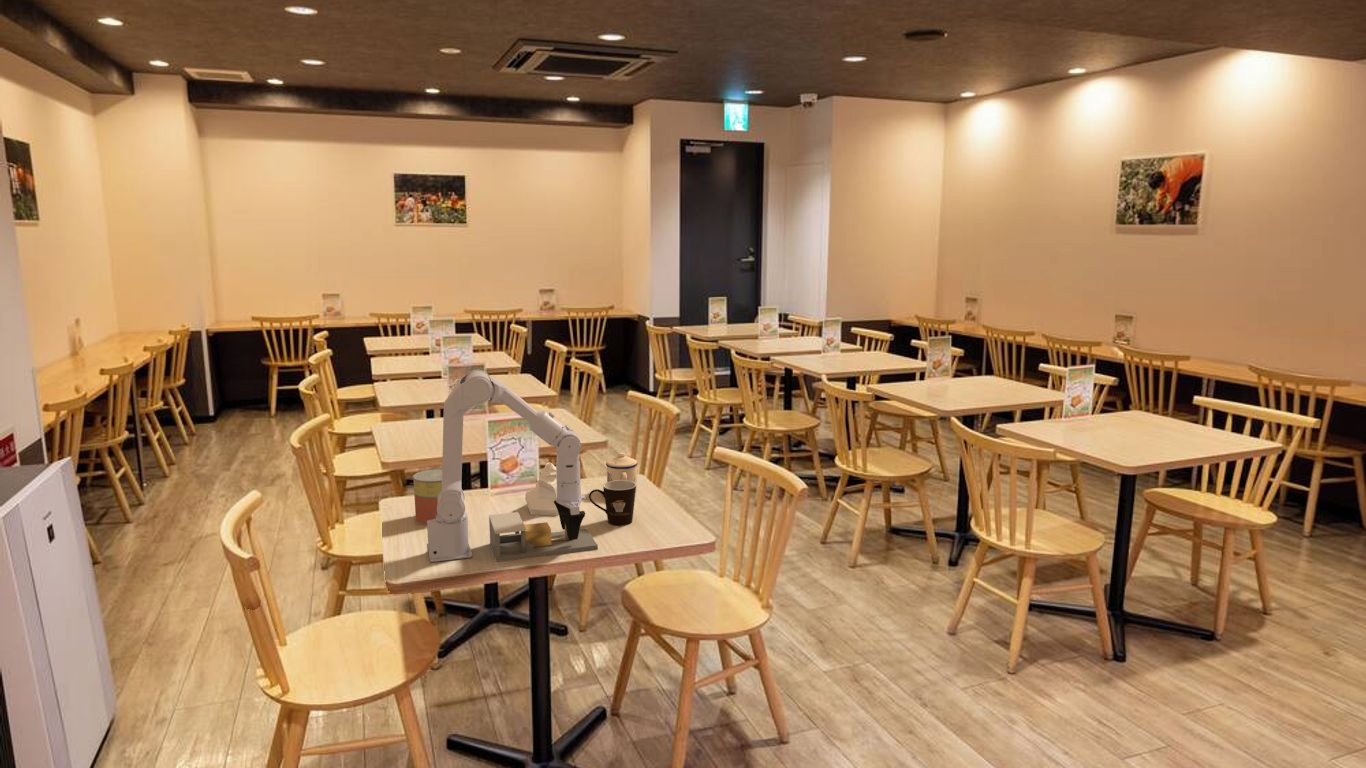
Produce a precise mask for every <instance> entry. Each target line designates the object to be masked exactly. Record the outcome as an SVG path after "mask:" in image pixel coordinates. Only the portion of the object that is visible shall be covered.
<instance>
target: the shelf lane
mask: <svg viewBox="0 0 1366 768" xmlns="http://www.w3.org/2000/svg"><path fill="white" fill-rule="evenodd" d="M488 521H489V522H488V523H489V526H488V528H489V544H490V546H491V550H492V553H493V556H494V558H495V561H496V562H505V561H513V560H521V559H528V558H537V557H544V556H553V555H561V554H568V553H577V552H579V553H580V552H584V551H585V552H587V551H594V550H598V547H599V546H598V545H599V544H597V542H596V540H595V539H594V537H593V535H592V534H591V532H589V530H588V528H580V530H579V535H578V539H575V540H558V541H551V545H546V546H538V547H534V544H533V542H531V543H526V540H525V531H526V528H525V526H524V525H525V523H524V521H523V520H522V517H521V516H520V513H519V511H516V512H514V511H513V512H506V513H505V512H504V513H495V514H488ZM508 533H511V534H508ZM501 534H502V535H501ZM564 537H565V530H562V531H554V532H551V539H556V538H564Z"/></svg>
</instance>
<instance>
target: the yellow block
mask: <svg viewBox="0 0 1366 768" xmlns="http://www.w3.org/2000/svg"><path fill="white" fill-rule="evenodd" d="M524 526H525V528H526V531H525V540H526V543H531V542H533V544H534V547H538V546H546V545H551V541H558V540H569V539H568V536H567V530H566V525H565V529H564V531H565V537H564V538H556V539H551V533H552V528H551V527H550V525H549V523H548V522H538V523H530V524H524Z"/></svg>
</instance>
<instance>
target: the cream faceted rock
mask: <svg viewBox="0 0 1366 768" xmlns="http://www.w3.org/2000/svg"><path fill="white" fill-rule="evenodd" d="M524 496H525V497H524V498H525V502H526V506H527V508H528V512H529V515H531V516H534V515H535V516H559V513H558V510H557V508H556V505H555V504H554V501H555V500H556V498H557V477H556V465H554V464H553V463H552V462H547V463H546V464H545V466H544V468H542V469H541V471H540V475H539V479H538V480H537V481H536V483H535V487H534V488H532V489H530V490H528V491H526V492H525V495H524Z"/></svg>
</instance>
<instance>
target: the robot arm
mask: <svg viewBox="0 0 1366 768" xmlns="http://www.w3.org/2000/svg"><path fill="white" fill-rule="evenodd" d="M487 401H490V403H491V404H503V405H505V406H506V407H508V408H509V409H510V410H511V411H513V412H514V413H515V414H517V415H518V416H520V417H521V418H523V419H524V420H525V421H527V422H528V427H529V430H530V431H531V432H532V433H534V434H535V436H538V437H539V438H540V439H541V440H543V442H545V443H546V444H547V445H548V446H552V447H554V448H555V449H556V463H555V467H556V477H557V498H556V500H555V501H554V504H555V505H556V508H557V510H558V513H559V515H558V517H559V521H560V525H561V528H562V530H565V525H566V530H567V536H568V539H569V540H575V539H578V535H579V530H580V529H581V525H582V522H583V520H584V518H585V516H586V511H585V510H580V505H581V504H582V501H586V499H587V498H586V495H585V494H581V493H582V492H581V489H582V488H581V486H582V485H581V484H582V483H581V461H580V458H581V457H580V456H581V455H580V454H581V452H582V448H583V446H582V443H581V441H580V439H579V437H578V435H577V434H576V432H575V431H574V430H573V429H571V428H570V427H569V426H568V425H567V424H566V425H564V424H563V423H561V422H560V421H559V420H558V419H557V418H555V416H556V415H555V414H554V413H553V412H551V411H549V412H547V411H546V410H538V411H537V410H536V409H535V408H534V407H532V406H531V405H530V404H529V403H528V402H526V401H525V400H524V399H523V398H522V397H520V396H519V395H518V394H517V393H516V392H515V391H513V389H511V388H510V387H509V386H508V385H506V384H505V383H503V382H502V381H500V380H499V379H497V378H496V377H495V376H494V377H493V376H490V374H489V373H488V372H486V371H484V370H481V369H474V370H471V371H469V372H468V373H467V374H465V375H463V376H461V378H459V381H458V383H457V384H456V385H455V386H454V388H453V389H452V391H451V392H450V393H449V395H448V396H447V398H445V400H444V403H443V420H442V421H443V422H442V425H443V427H442V431H443V432H442V433H443V434H442V455H441V456H442V459H441V461H442V463H441V466H442V467H441V469H442V487H441V490H440V491H439V493H438V496H437V501H438V505H437V515H436V518H435V519H432V520H428V521H427V526H426V529H427V543H426V551H427V552H428V556H429V562H431V563H435V562H443V561H451V560H459V559H469V558H472V557H473V553H472V550H471V547H470V542H469V541H470V540H469V527H468V526H469V525H468V518H469V517H468V513H467V512H466V505H465V497H466V496H465V492H464V490H463V489H462V479H463V477H462V475H463V472H462V470H463V469H462V468H463V444H464V443H463V440H464V415H465V414H466V413H467V412H468V411H469V410H471V409H472V408H473V407H475V406H478V405H481V404H484V403H485V402H487Z"/></svg>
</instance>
